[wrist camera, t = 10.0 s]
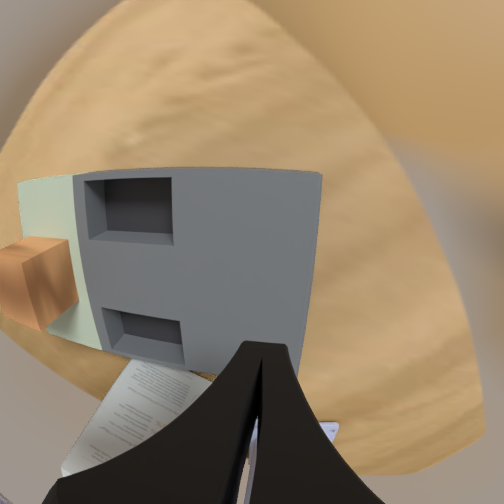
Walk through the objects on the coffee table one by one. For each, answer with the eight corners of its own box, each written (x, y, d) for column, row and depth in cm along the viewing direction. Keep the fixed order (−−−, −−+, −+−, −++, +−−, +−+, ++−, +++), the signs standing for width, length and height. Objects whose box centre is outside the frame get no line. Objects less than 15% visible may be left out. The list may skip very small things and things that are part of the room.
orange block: (79, 299, 17) (40, 331, 13) (41, 290, 18) (4, 316, 14) (68, 239, 16) (21, 263, 12) (30, 235, 16) (-13, 255, 12)
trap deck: (296, 359, 20) (296, 382, 17) (63, 319, 22) (48, 332, 19) (317, 171, 15) (322, 174, 13) (38, 177, 18) (17, 182, 15)
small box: (127, 381, 23) (62, 484, 11) (142, 341, 21) (57, 466, 9) (201, 421, 24) (163, 535, 11) (230, 388, 22) (191, 531, 9)
